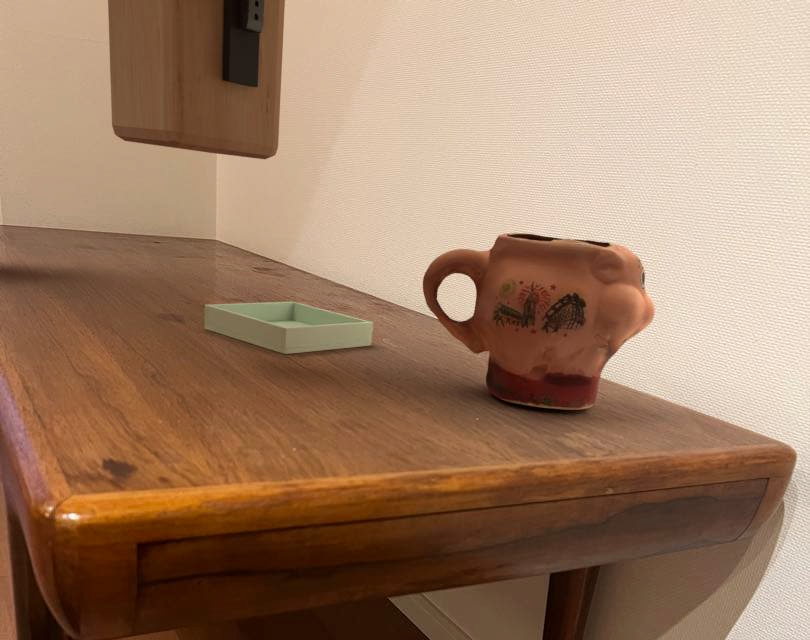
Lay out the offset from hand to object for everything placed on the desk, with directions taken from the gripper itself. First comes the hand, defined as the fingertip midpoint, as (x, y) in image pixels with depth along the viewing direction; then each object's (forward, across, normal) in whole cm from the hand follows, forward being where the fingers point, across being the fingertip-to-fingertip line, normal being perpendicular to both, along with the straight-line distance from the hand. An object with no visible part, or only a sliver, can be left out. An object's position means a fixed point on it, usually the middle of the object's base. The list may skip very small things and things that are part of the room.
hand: (195, 82), depth 61 cm
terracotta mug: (+22, -23, -18) cm, 37 cm away
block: (+5, 0, 0) cm, 5 cm away
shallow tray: (+22, +5, -15) cm, 27 cm away
